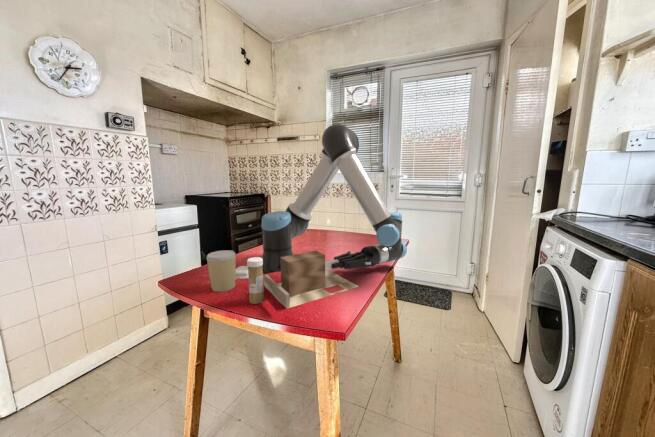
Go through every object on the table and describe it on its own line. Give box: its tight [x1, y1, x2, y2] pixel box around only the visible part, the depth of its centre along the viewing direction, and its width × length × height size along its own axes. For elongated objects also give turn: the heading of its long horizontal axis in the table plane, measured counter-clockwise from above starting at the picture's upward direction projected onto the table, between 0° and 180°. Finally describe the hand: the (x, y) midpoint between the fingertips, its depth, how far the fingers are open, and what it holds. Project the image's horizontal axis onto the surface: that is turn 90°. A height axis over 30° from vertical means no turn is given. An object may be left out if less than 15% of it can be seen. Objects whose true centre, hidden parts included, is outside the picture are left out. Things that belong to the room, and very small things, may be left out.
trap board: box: [263, 270, 360, 310], centre depth 85 cm, size 26×18×6 cm
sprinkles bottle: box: [246, 256, 265, 305], centre depth 78 cm, size 5×5×13 cm
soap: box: [235, 265, 249, 280], centre depth 101 cm, size 9×7×3 cm
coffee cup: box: [205, 249, 237, 293], centre depth 89 cm, size 9×9×12 cm
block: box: [280, 250, 326, 297], centre depth 83 cm, size 13×6×11 cm, turn 123°
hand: (321, 267), depth 86 cm, fingers closed
